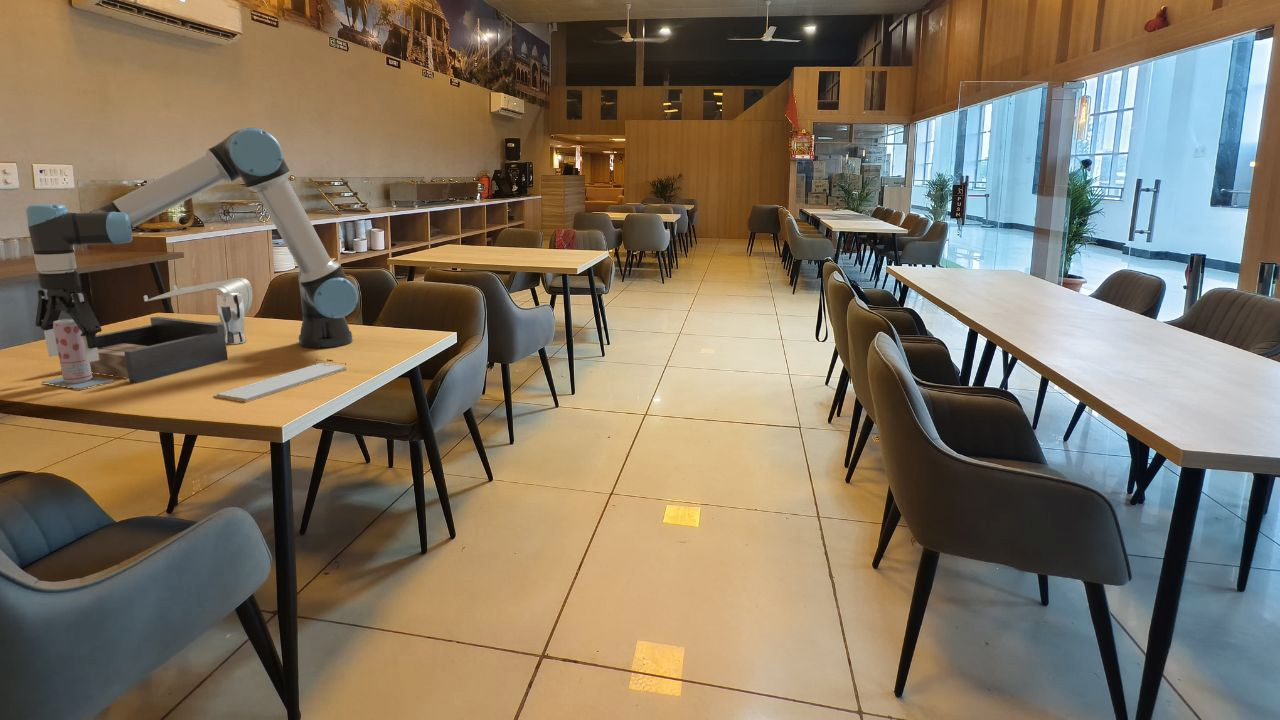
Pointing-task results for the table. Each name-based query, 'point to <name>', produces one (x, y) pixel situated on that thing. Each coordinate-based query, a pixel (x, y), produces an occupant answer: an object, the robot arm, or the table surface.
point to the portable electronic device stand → (223, 286)
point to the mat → (82, 385)
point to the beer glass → (232, 316)
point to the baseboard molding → (281, 382)
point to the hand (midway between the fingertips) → (74, 358)
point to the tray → (168, 347)
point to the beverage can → (71, 352)
